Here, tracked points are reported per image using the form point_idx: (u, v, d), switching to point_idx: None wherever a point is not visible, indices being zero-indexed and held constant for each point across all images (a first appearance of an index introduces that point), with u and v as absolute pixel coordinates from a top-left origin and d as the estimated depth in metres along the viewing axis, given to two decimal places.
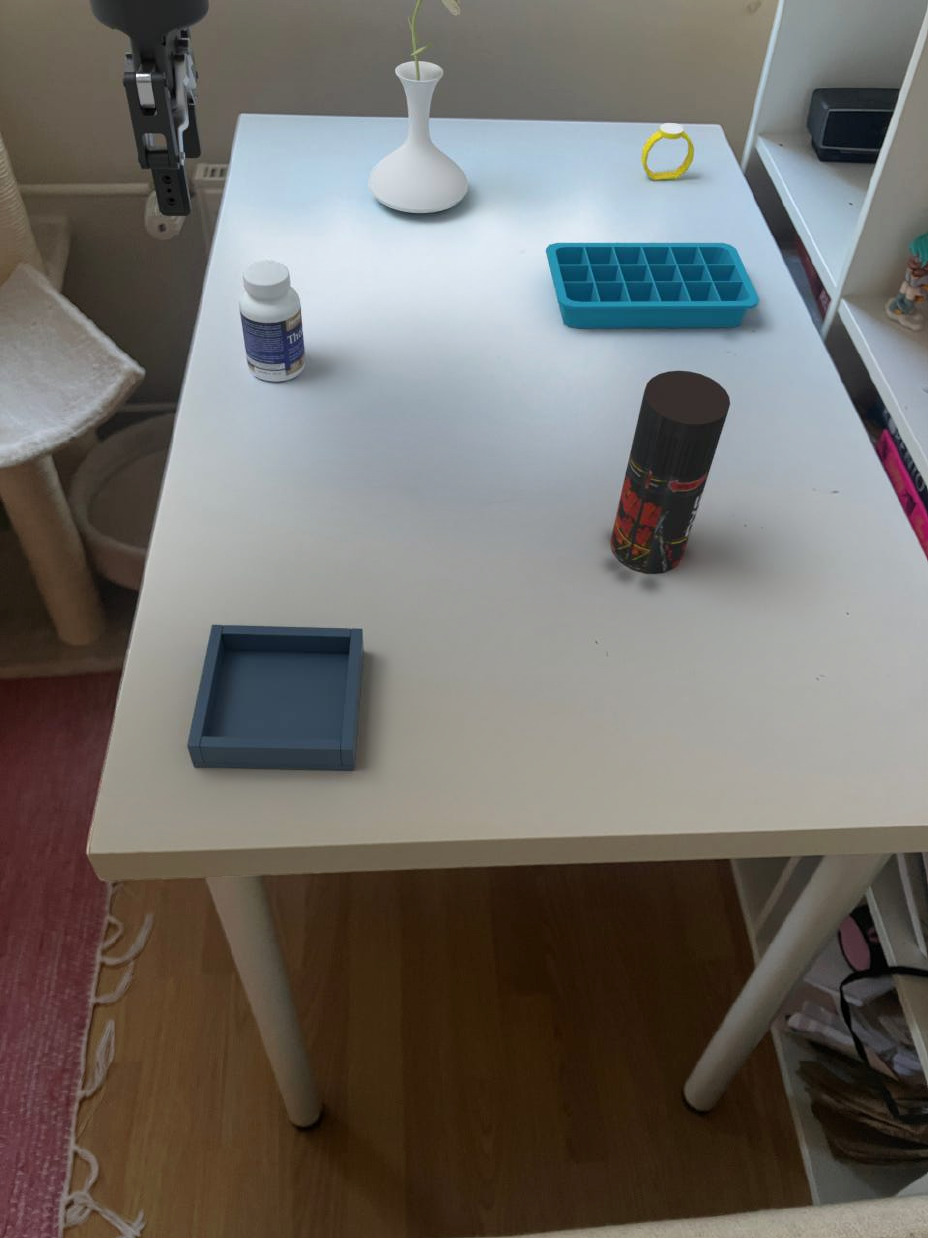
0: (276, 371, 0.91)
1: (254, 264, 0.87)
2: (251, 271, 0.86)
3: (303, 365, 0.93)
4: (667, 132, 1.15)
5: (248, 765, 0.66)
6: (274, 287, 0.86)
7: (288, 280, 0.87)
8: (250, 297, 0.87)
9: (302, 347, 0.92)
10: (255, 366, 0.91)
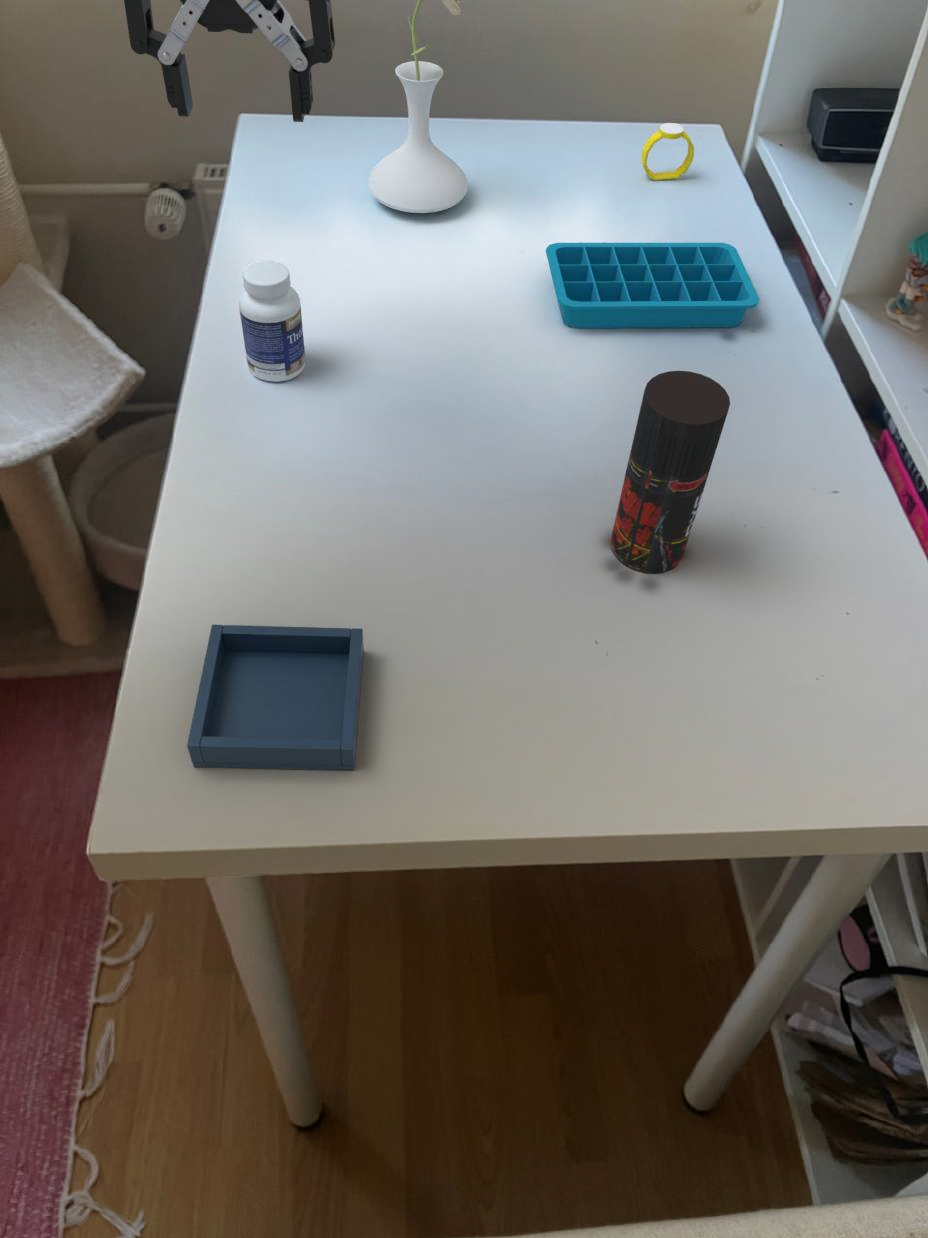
0: (276, 371, 0.91)
1: (254, 264, 0.87)
2: (251, 271, 0.86)
3: (303, 365, 0.93)
4: (667, 132, 1.15)
5: (248, 765, 0.66)
6: (274, 287, 0.86)
7: (288, 280, 0.87)
8: (250, 297, 0.87)
9: (302, 347, 0.92)
10: (255, 366, 0.91)
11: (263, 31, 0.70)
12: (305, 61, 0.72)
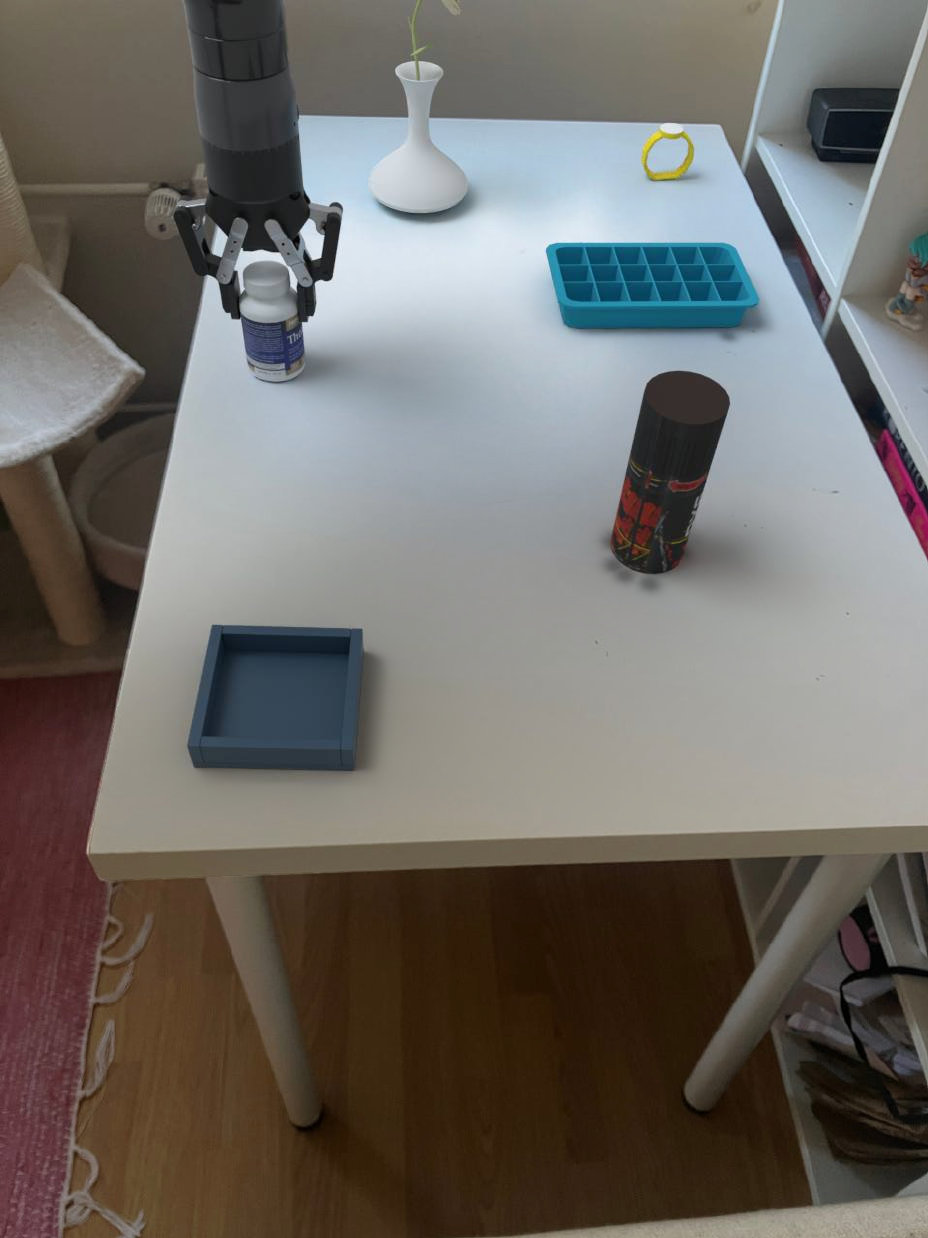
0: (276, 371, 0.91)
1: (254, 264, 0.87)
2: (251, 271, 0.86)
3: (303, 365, 0.93)
4: (667, 132, 1.15)
5: (248, 765, 0.66)
6: (274, 287, 0.86)
7: (288, 280, 0.87)
8: (250, 297, 0.87)
9: (302, 347, 0.92)
10: (255, 366, 0.91)
11: (282, 255, 0.83)
12: (310, 280, 0.86)
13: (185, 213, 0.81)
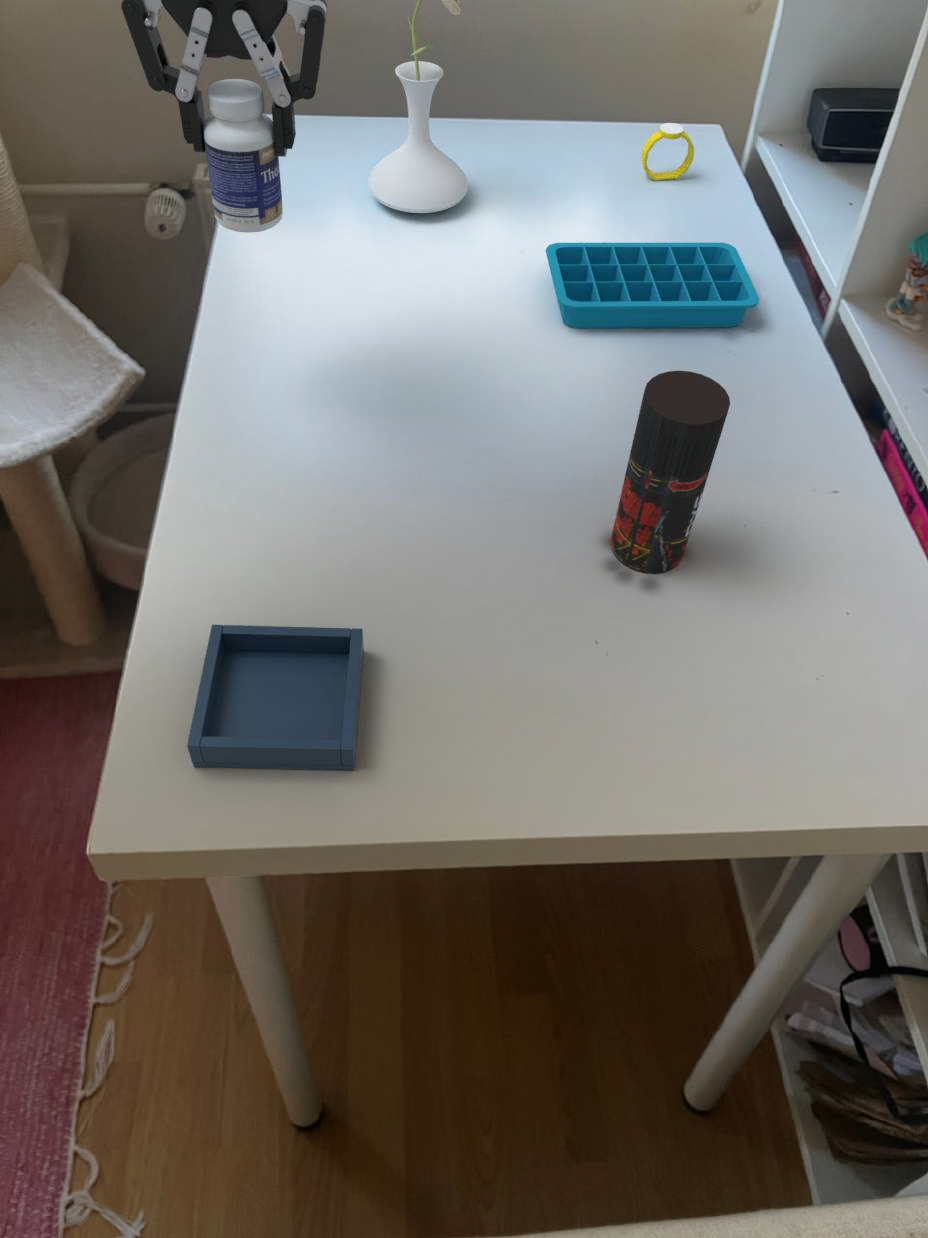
0: (248, 218, 0.77)
1: (221, 82, 0.73)
2: (217, 88, 0.72)
3: (280, 215, 0.79)
4: (667, 132, 1.15)
5: (248, 765, 0.66)
6: (245, 105, 0.72)
7: (262, 100, 0.73)
8: (216, 121, 0.73)
9: (279, 191, 0.78)
10: (223, 212, 0.77)
11: (254, 60, 0.69)
12: (288, 97, 0.72)
13: (136, 3, 0.67)
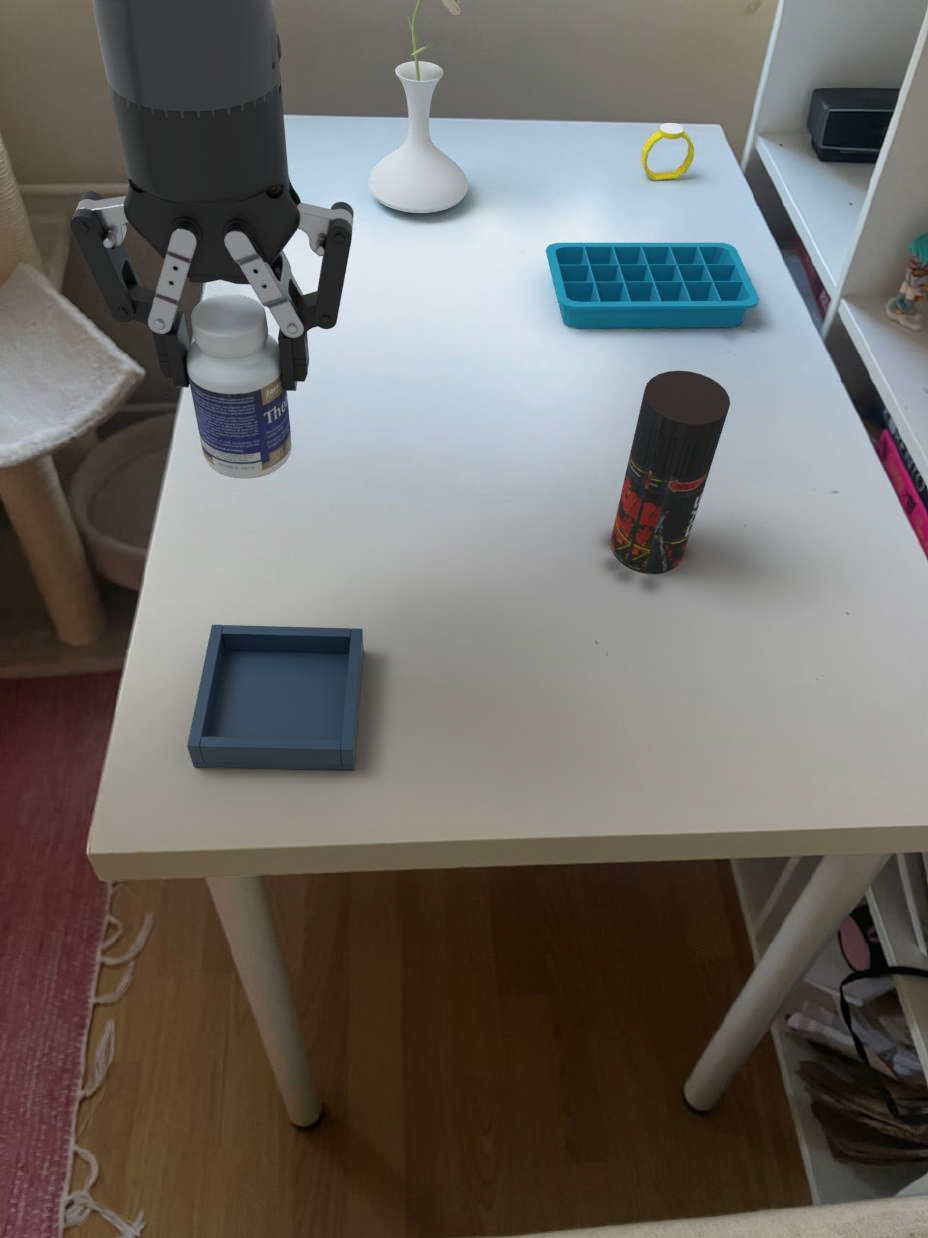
0: (247, 464, 0.59)
1: (210, 301, 0.55)
2: (205, 312, 0.54)
3: (289, 452, 0.61)
4: (667, 132, 1.15)
5: (248, 765, 0.66)
6: (242, 338, 0.53)
7: (264, 326, 0.54)
8: (203, 353, 0.55)
9: (287, 426, 0.59)
10: (214, 457, 0.59)
11: (255, 289, 0.51)
12: (300, 327, 0.53)
13: (90, 221, 0.48)
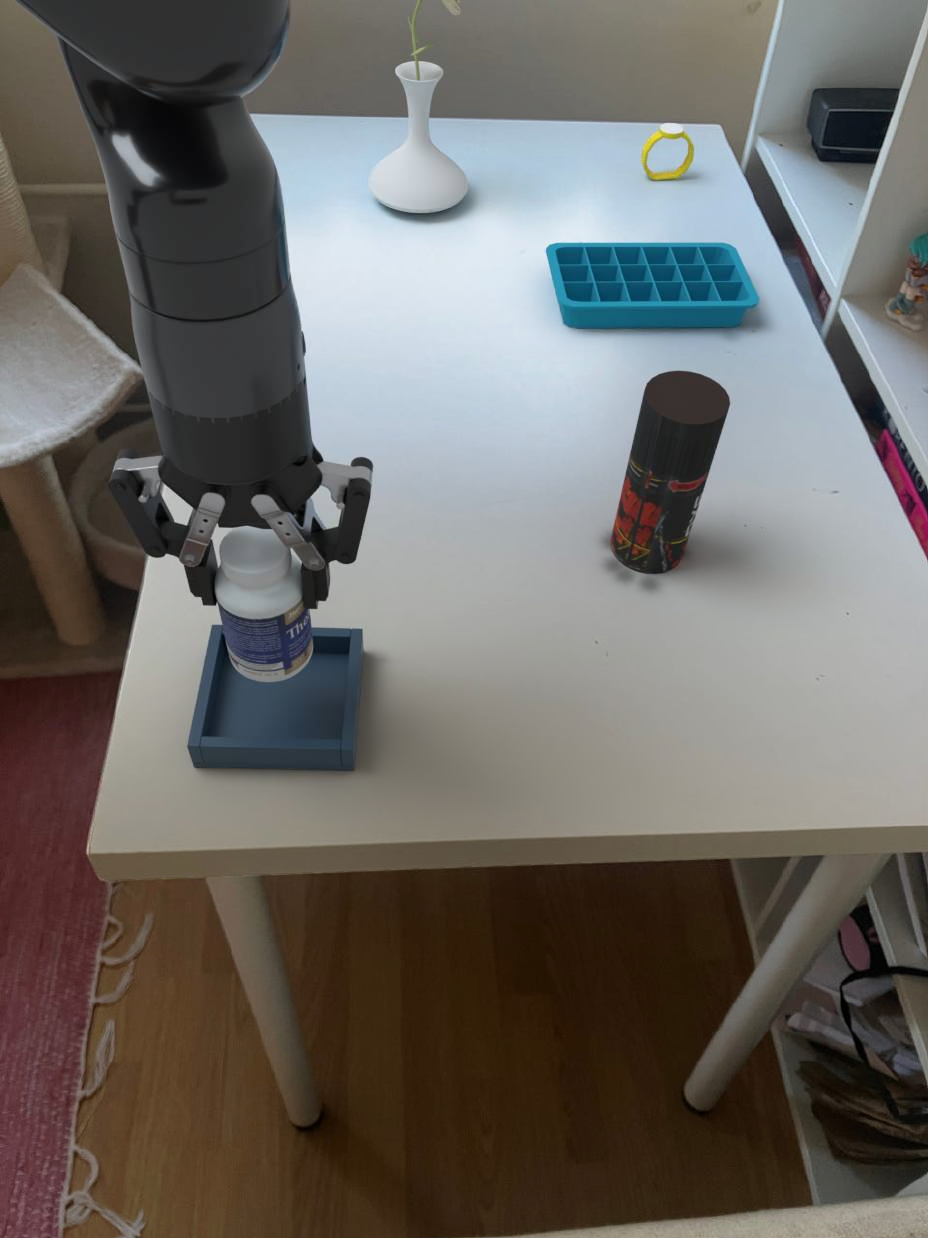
0: (270, 672, 0.62)
1: (237, 531, 0.58)
2: (232, 545, 0.57)
3: (310, 654, 0.64)
4: (667, 132, 1.15)
5: (248, 765, 0.66)
6: (267, 573, 0.56)
7: (288, 558, 0.57)
8: (230, 581, 0.58)
9: (309, 634, 0.62)
10: (239, 664, 0.62)
11: (279, 536, 0.54)
12: (322, 562, 0.56)
13: (127, 483, 0.52)
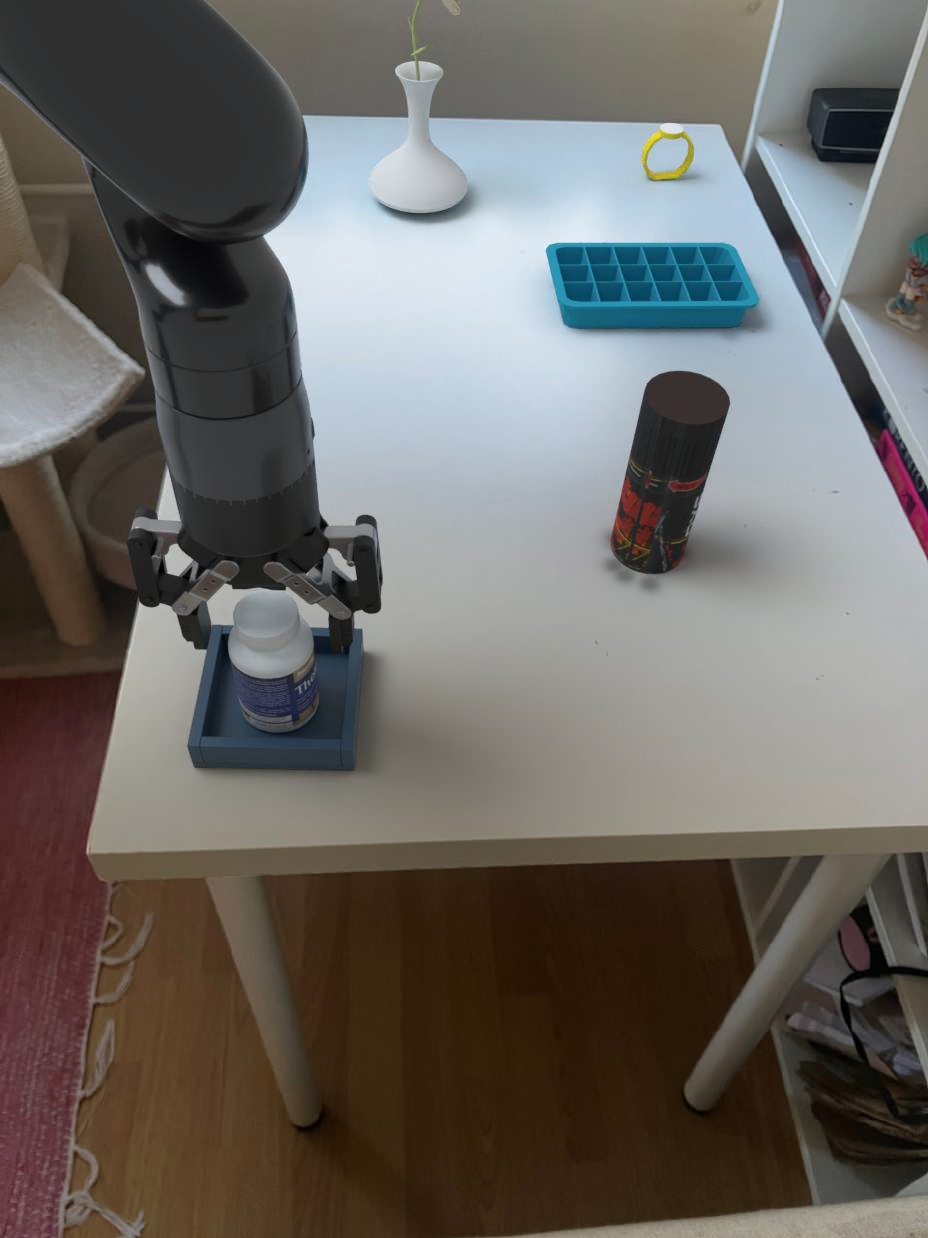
0: (280, 724, 0.66)
1: (250, 597, 0.62)
2: (245, 611, 0.62)
3: (316, 706, 0.68)
4: (667, 132, 1.15)
5: (248, 765, 0.66)
6: (277, 638, 0.61)
7: (297, 623, 0.62)
8: (243, 643, 0.62)
9: (315, 688, 0.67)
10: (250, 716, 0.66)
11: (299, 595, 0.58)
12: (348, 613, 0.60)
13: (146, 542, 0.55)
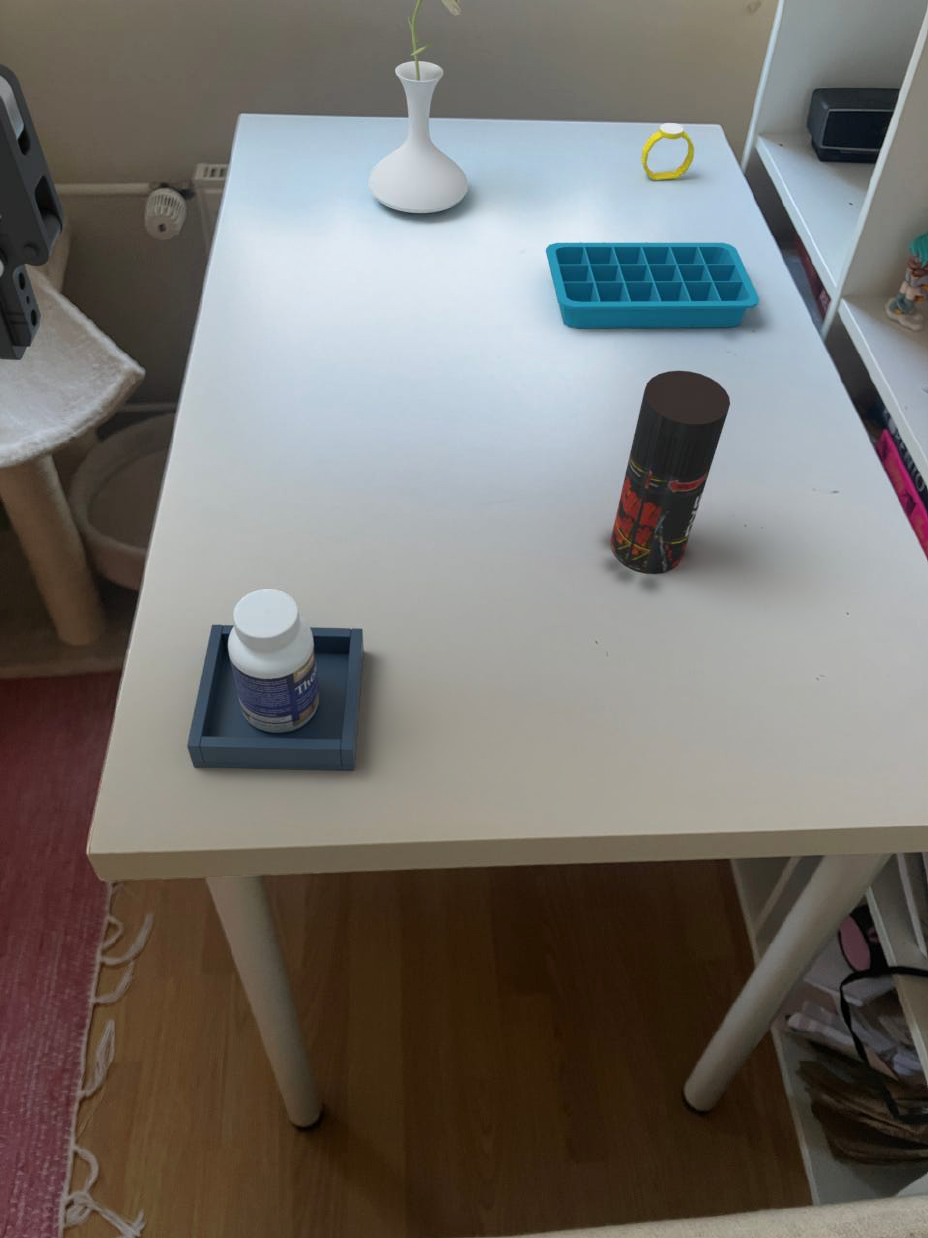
0: (280, 724, 0.66)
1: (249, 597, 0.62)
2: (245, 611, 0.62)
3: (316, 706, 0.68)
4: (667, 132, 1.15)
5: (248, 765, 0.66)
6: (277, 638, 0.61)
7: (297, 623, 0.62)
8: (243, 643, 0.62)
9: (315, 688, 0.67)
10: (250, 716, 0.66)
11: None
12: None
13: None
